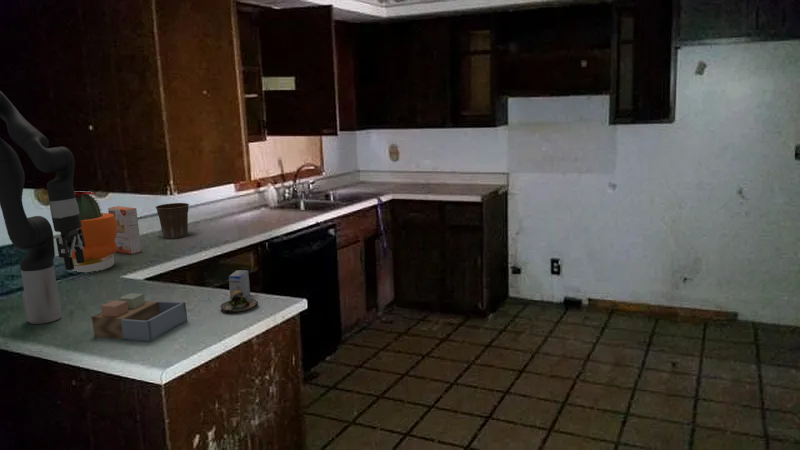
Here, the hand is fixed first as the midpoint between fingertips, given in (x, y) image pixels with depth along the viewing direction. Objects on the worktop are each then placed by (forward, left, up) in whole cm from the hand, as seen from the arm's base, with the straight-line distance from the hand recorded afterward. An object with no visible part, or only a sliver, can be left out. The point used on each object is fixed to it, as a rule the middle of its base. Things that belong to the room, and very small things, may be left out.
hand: (75, 266), depth 199 cm
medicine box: (+35, +34, -19) cm, 52 cm away
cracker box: (-57, +90, -19) cm, 108 cm away
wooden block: (+17, 0, -19) cm, 25 cm away
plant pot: (-55, +124, -19) cm, 137 cm away
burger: (+41, +23, -19) cm, 51 cm away
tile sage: (+16, +3, -13) cm, 21 cm away
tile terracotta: (+16, -4, -13) cm, 21 cm away
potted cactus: (-51, +63, -19) cm, 83 cm away
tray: (+27, 0, -19) cm, 32 cm away
